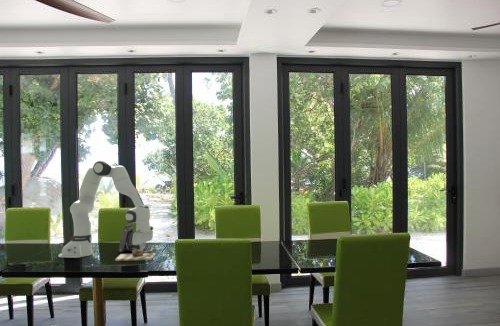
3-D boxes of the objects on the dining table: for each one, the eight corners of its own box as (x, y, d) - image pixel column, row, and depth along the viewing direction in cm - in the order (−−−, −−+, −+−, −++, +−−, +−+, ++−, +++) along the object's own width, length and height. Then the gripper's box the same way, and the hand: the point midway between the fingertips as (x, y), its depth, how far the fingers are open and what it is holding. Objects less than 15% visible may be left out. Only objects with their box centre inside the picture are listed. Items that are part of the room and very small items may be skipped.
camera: (136, 258, 272) (143, 231, 272) (116, 251, 276) (122, 225, 275) (144, 254, 283) (150, 229, 282) (124, 248, 286) (130, 222, 286)
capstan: (132, 256, 257) (132, 251, 257) (132, 254, 264) (132, 248, 264) (152, 255, 260) (152, 249, 260) (152, 252, 267) (152, 247, 267)
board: (115, 260, 252) (115, 258, 252) (120, 255, 265) (120, 253, 265) (152, 259, 254) (152, 257, 254) (155, 254, 268) (155, 252, 268)
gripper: (138, 231, 246) (138, 253, 246) (154, 226, 266) (154, 246, 266) (130, 231, 248) (129, 252, 248) (146, 226, 267) (146, 245, 267)
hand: (142, 249), depth 257 cm, fingers closed
